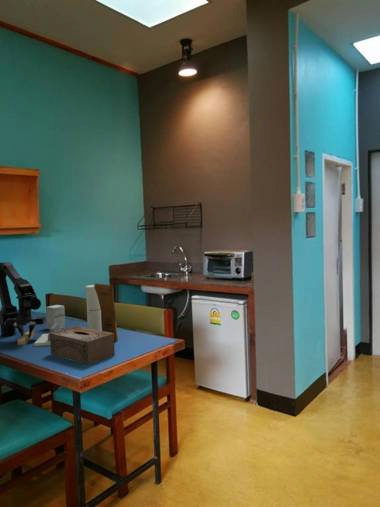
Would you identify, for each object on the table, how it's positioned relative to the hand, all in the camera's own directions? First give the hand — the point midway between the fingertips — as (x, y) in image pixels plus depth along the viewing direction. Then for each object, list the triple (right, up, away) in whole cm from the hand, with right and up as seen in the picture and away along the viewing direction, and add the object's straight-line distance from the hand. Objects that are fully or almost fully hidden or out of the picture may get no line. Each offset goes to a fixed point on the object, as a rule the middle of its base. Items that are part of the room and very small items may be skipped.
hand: (26, 337), depth 203 cm
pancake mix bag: (+42, 0, -1) cm, 42 cm away
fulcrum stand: (+15, -1, -2) cm, 16 cm away
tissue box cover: (+35, -3, -26) cm, 44 cm away
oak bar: (0, -1, 0) cm, 1 cm away
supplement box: (+8, +1, +22) cm, 23 cm away
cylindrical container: (+32, +1, +11) cm, 34 cm away
